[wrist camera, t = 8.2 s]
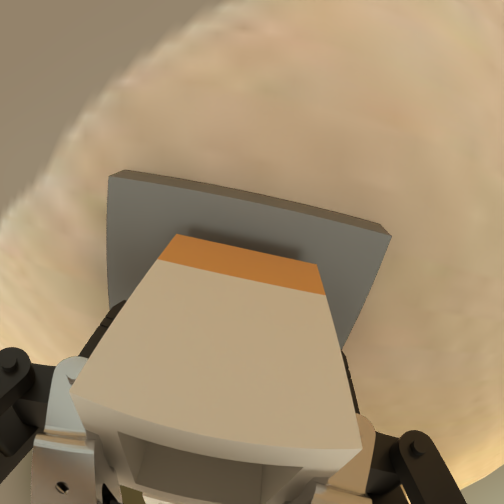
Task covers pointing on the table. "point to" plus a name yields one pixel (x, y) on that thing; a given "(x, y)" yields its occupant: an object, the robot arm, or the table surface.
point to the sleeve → (221, 379)
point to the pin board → (238, 238)
